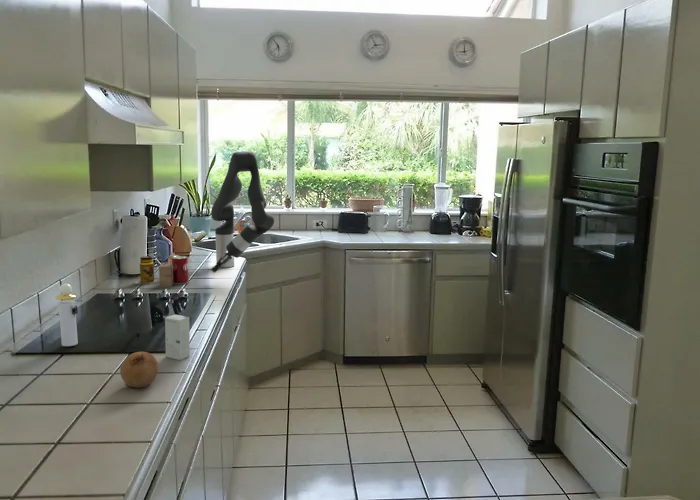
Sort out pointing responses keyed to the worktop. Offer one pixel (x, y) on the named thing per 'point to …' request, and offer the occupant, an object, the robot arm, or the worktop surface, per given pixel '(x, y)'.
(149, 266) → the yellow coffee bottle can
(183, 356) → the skincare box
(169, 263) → the tan rounded cylinder
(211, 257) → the worktop surface
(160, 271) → the block
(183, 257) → the soda can
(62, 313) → the perfume bottle
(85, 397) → the worktop surface
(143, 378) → the onion
